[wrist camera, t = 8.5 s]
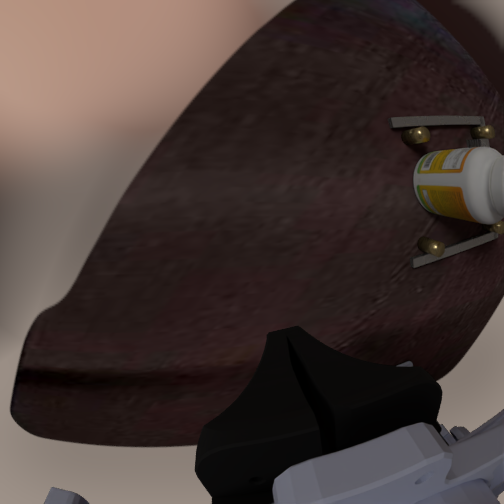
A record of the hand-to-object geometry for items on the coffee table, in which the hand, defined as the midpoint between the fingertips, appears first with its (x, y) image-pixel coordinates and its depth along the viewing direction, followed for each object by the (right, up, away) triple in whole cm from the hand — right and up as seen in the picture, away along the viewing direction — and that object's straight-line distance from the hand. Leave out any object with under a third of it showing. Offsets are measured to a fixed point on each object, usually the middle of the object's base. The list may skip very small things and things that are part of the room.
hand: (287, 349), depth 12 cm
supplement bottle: (+14, +10, +10) cm, 20 cm away
